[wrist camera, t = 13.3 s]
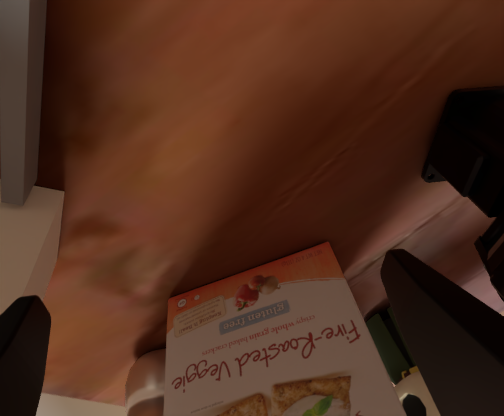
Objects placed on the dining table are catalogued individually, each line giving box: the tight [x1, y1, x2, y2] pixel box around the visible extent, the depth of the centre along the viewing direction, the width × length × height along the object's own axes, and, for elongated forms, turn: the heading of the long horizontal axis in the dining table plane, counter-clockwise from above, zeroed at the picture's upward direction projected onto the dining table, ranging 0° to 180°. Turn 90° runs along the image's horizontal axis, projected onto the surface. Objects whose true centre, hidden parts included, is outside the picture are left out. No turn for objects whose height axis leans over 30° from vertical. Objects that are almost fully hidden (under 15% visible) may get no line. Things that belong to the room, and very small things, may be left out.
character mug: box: [366, 307, 440, 416], centre depth 32 cm, size 11×7×13 cm, turn 123°
